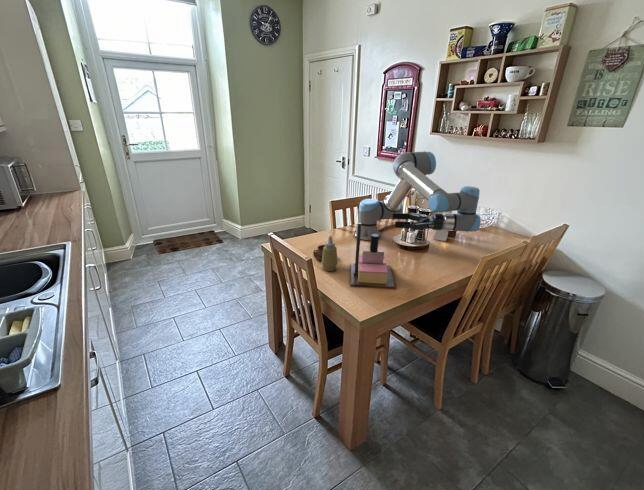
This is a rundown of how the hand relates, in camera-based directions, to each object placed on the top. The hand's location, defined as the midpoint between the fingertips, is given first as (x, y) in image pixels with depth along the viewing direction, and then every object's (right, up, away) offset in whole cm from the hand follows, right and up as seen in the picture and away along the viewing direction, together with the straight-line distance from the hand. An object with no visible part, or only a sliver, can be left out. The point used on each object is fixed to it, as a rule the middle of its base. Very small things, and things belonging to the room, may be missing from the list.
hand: (393, 220), depth 149 cm
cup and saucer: (-31, -18, +30) cm, 47 cm away
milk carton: (+43, -6, +59) cm, 73 cm away
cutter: (-8, -20, +9) cm, 24 cm away
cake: (-8, -26, +11) cm, 30 cm away
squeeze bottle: (-29, -23, +18) cm, 41 cm away
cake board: (-8, -26, +11) cm, 30 cm away
